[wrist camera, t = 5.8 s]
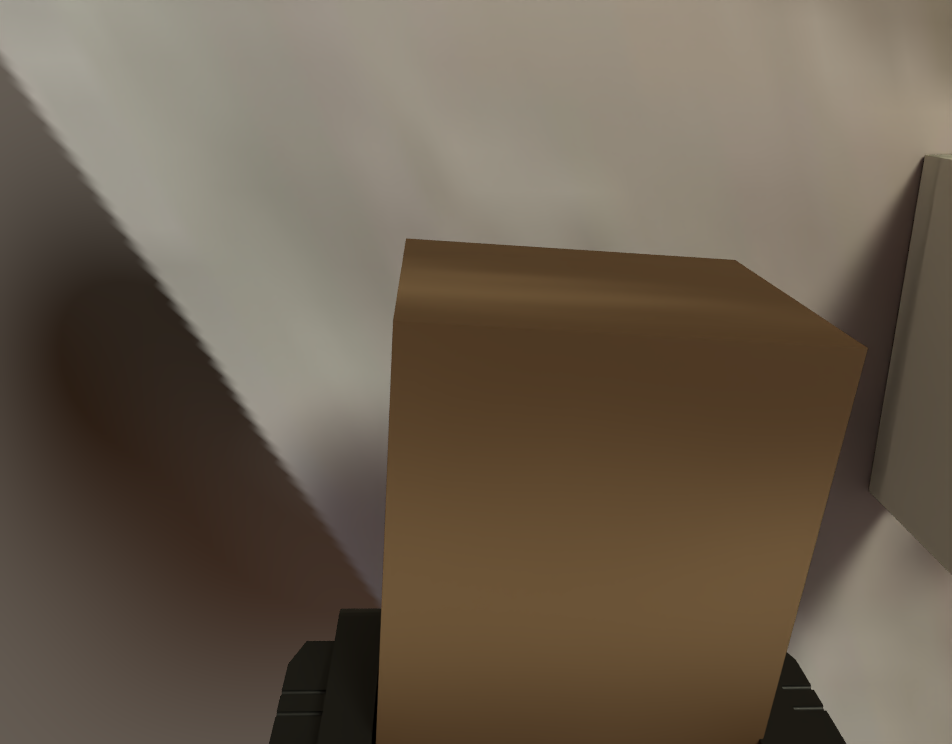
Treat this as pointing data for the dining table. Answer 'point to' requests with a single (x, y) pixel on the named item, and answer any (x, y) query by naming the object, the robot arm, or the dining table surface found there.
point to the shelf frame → (922, 378)
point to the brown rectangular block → (599, 494)
